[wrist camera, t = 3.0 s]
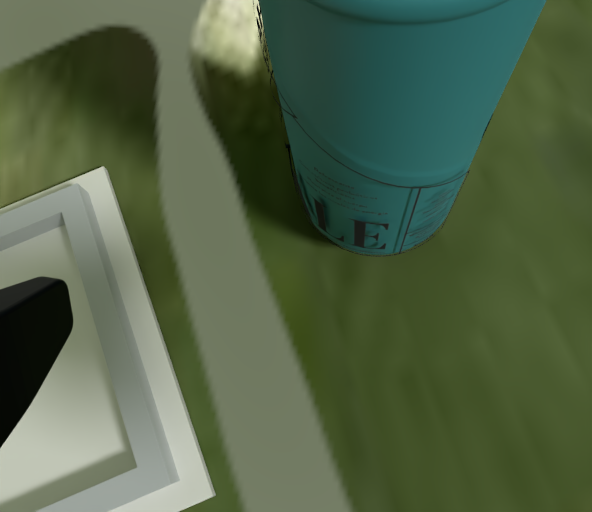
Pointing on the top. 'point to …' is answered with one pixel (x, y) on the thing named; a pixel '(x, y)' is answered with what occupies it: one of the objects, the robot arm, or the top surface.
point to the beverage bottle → (388, 106)
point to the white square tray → (96, 369)
